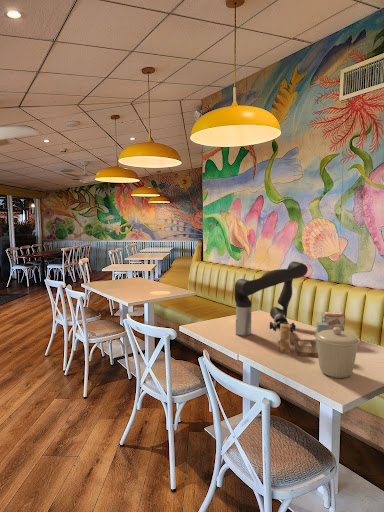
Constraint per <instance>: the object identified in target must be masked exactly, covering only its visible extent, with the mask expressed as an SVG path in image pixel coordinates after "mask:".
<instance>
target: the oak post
mask: <svg viewBox="0 0 384 512" xmlns="http://www.w3.org/2000/svg"><path fill="white" fill-rule="evenodd" d="M289 324H290V323H289ZM289 324H280V329H279V330H280V332H279V352H280V353H285V354H287V353H288V354H290V352H291V350H290V349H291V332H290V325H289Z"/></svg>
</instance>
